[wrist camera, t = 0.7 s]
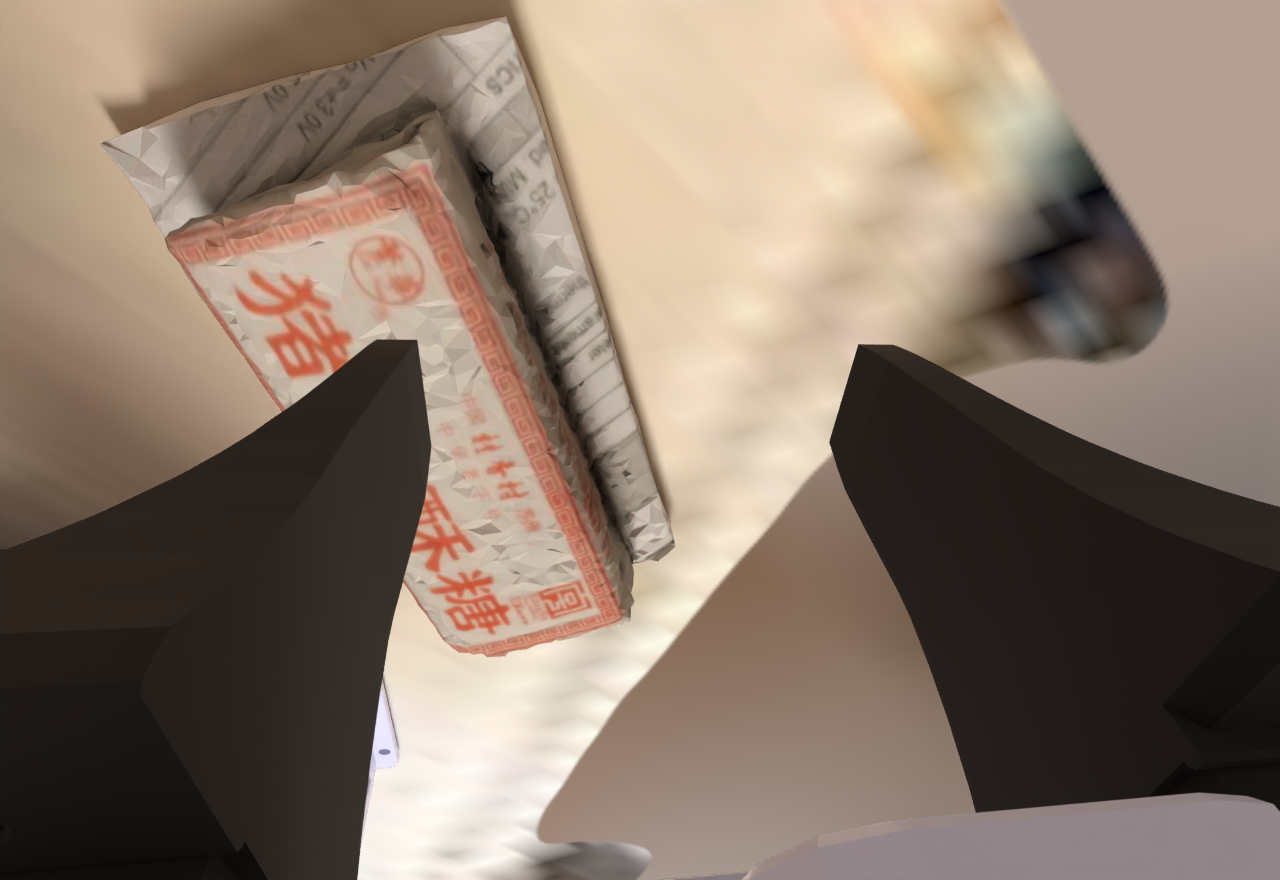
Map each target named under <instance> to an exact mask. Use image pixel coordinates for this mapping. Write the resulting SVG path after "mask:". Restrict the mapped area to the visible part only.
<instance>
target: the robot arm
mask: <svg viewBox="0 0 1280 880" xmlns="http://www.w3.org/2000/svg"><path fill="white" fill-rule="evenodd" d="M431 446H432V445H431V438H430V431H429V423H428V416H427V408H426V401H425V393H424V386H423V378H422V371H421V363H420V356H419V348H418V341H417V340H394V339H376V340H375V341H373V342H372V343H370V344H369V345H368V346H366V347H365V348H364V349H363V350H361V351H360V352H359V353H358V354H356V355H355V356H354V357H353V358H351V359H350V360H349V361H348V362H346V363H345V364H344V365H343V366H342V367H340V368H339V369H338V370H337V371H335V372H334V373H333V374H332V375H330V376H329V377H328V378H327V379H325V380H324V381H323V382H322V383H320V384H319V385H318V386H316V387H315V388H314V389H313V390H311V391H310V392H309V393H308V394H306V395H305V396H304V397H302V398H301V399H300V400H298V401H297V402H295V403H294V404H293V405H291V406H290V407H288V408H287V409H285V410H284V411H283V412H281V413H280V414H278V415H277V416H275V417H274V418H273V419H271V420H270V421H268V422H267V423H265V424H264V425H263V426H261V427H260V428H258V429H257V430H256V431H254V432H253V433H251V434H250V435H248V436H246V437H245V438H243V439H242V440H240V441H239V442H237V443H235V444H234V445H232V446H230V447H229V448H227V449H225V450H224V451H222V452H220V453H219V454H217V455H215V456H213V457H211V458H210V459H208V460H206V461H204V462H203V463H201V464H199V465H197V466H195V467H194V468H192V469H190V470H188V471H186V472H184V473H183V474H181V475H179V476H177V477H175V478H173V479H171V480H169V481H167V482H164V483H162V484H160V485H158V486H156V487H154V488H152V489H150V490H148V491H145V492H143V493H141V494H139V495H137V496H135V497H133V498H131V499H128V500H126V501H124V502H122V503H120V504H118V505H116V506H114V507H112V508H109V509H107V510H105V511H103V512H101V513H98V514H96V515H94V516H91V517H89V518H86V519H84V520H82V521H79V522H77V523H74V524H72V525H69V526H67V527H64V528H62V529H59V530H57V531H55V532H52V533H49V534H47V535H44V536H41V537H39V538H36V539H33V540H31V541H28V542H26V543H23V544H20V545H18V546H15V547H12V548H10V549H7V550H4V551H1V552H0V880H357V876H358V866H359V856H360V847H361V842H362V837H363V832H364V827H365V822H366V817H367V812H368V806H369V801H370V796H371V791H372V786H373V781H374V776H375V771H376V769H382V768H392V767H394V766H396V765H397V764H398V760H399V752H398V747H397V743H396V738H395V734H394V729H393V725H392V720H391V716H390V711H389V707H388V702H387V698H386V693H385V689H384V684H383V680H382V678H383V672H384V665H385V659H386V652H387V645H388V640H389V635H390V630H391V626H392V621H393V617H394V613H395V609H396V605H397V602H398V598H399V594H400V590H401V587H402V583H403V579H404V576H405V572H406V568H407V565H408V561H409V557H410V554H411V550H412V546H413V543H414V539H415V535H416V532H417V528H418V524H419V520H420V516H421V513H422V509H423V505H424V501H425V496H426V489H427V481H428V473H429V464H430V455H431ZM830 446H831V449H832V452H833V455H834V458H835V461H836V465H837V468H838V471H839V474H840V476H841V479H842V482H843V485H844V488H845V490H846V492H847V494H848V496H849V498H850V500H851V502H852V504H853V506H854V508H855V510H856V512H857V514H858V516H859V518H860V520H861V522H862V524H863V526H864V527H865V530H866V531H867V533H868V535H869V537H870V539H871V541H872V543H873V544H874V547H875V548H876V550H877V552H878V554H879V556H880V558H881V560H882V562H883V564H884V565H885V567H886V569H887V571H888V573H889V575H890V577H891V579H892V580H893V582H894V584H895V586H896V588H897V590H898V592H899V594H900V596H901V598H902V600H903V602H904V605H905V607H906V609H907V611H908V613H909V615H910V618H911V620H912V623H913V625H914V628H915V631H916V633H917V636H918V638H919V640H920V643H921V646H922V649H923V651H924V654H925V656H926V659H927V662H928V664H929V667H930V670H931V672H932V674H933V678H934V681H935V684H936V687H937V690H938V692H939V695H940V698H941V701H942V704H943V707H944V710H945V712H946V715H947V718H948V721H949V724H950V727H951V730H952V734H953V737H954V740H955V743H956V747H957V750H958V753H959V756H960V759H961V762H962V766H963V769H964V772H965V776H966V779H967V782H968V785H969V789H970V792H971V796H972V800H973V804H974V807H975V811H976V813H970V814H959V815H948V816H937V817H926V818H915V819H904V820H893V821H887V822H882V823H877V824H873V825H868V826H863V827H858V828H853V829H849V830H843V831H839V832H834V833H829V834H824V835H820V836H816V837H814V838H812V839H810V840H807V841H805V842H803V843H801V844H799V845H797V846H795V847H793V848H790V849H788V850H786V851H784V852H782V853H779V854H778V855H775V856H773V857H771V858H769V859H766V860H764V861H762V862H760V863H758V864H757V865H755V867H754V868H753V869H752V870H751V871H741V872H731V873H720V874H711V875H700V876H691V877H680V878H670V879H660V880H1280V507H1278V506H1274V505H1270V504H1267V503H1263V502H1259V501H1256V500H1253V499H1249V498H1246V497H1242V496H1239V495H1236V494H1232V493H1228V492H1225V491H1222V490H1219V489H1216V488H1213V487H1210V486H1207V485H1203V484H1201V483H1198V482H1195V481H1192V480H1189V479H1185V478H1183V477H1179V476H1177V475H1174V474H1171V473H1168V472H1165V471H1162V470H1159V469H1156V468H1154V467H1151V466H1148V465H1145V464H1143V463H1140V462H1137V461H1134V460H1132V459H1130V458H1127V457H1125V456H1122V455H1119V454H1117V453H1115V452H1112V451H1110V450H1107V449H1105V448H1102V447H1100V446H1097V445H1095V444H1093V443H1090V442H1088V441H1086V440H1083V439H1081V438H1079V437H1077V436H1074V435H1072V434H1070V433H1068V432H1066V431H1063V430H1062V429H1059V428H1057V427H1055V426H1053V425H1051V424H1049V423H1047V422H1045V421H1043V420H1041V419H1039V418H1037V417H1035V416H1032V415H1030V414H1028V413H1026V412H1024V411H1023V410H1021V409H1018V408H1017V407H1015V406H1013V405H1011V404H1009V403H1007V402H1005V401H1003V400H1001V399H999V398H997V397H995V396H994V395H992V394H990V393H988V392H986V391H984V390H982V389H981V388H979V387H977V386H975V385H973V384H971V383H970V382H968V381H966V380H964V379H962V378H960V377H958V376H957V375H955V374H953V373H951V372H949V371H947V370H945V369H944V368H942V367H940V366H938V365H936V364H934V363H932V362H930V361H928V360H926V359H924V358H922V357H920V356H918V355H916V354H914V353H912V352H910V351H907V350H905V349H903V348H900V347H897V346H895V345H864V344H858V348H857V351H856V354H855V358H854V361H853V364H852V368H851V371H850V374H849V378H848V381H847V384H846V388H845V391H844V395H843V398H842V401H841V405H840V408H839V411H838V415H837V418H836V421H835V425H834V428H833V431H832V435H831V438H830Z"/></svg>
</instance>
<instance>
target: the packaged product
mask: <svg viewBox="0 0 1280 880" xmlns="http://www.w3.org/2000/svg"><path fill="white" fill-rule="evenodd" d="M100 144H101V146H102V147H103V148H104V149H105V150H106V152H107V153H108V154H109V155H110V156H111V158H112V159H113V160H114V161H115V162H116V164H117V165H118V166H119V167H120V168H121V170H122V171H123V173H124V174H125V175H126V177H127V178H128V180H129V181H130V182H131V184H132V185H133V187H134V188H135V189H136V191H137V192H138V194H139V195H140V196H141V198H142V199H143V201H144V202H145V203H146V205H147V206H148V208H149V210H150V212H151V215H152V217H153V219H154V222H155V224H156V225H157V226H158V228H159V229H160V230H161V232H162V233H163V234H164V236H165V237H166V238H165V241H166V244H167V248H168V250H169V251H170V252H171V254H172V255H173V256H174V257H175V258H176V259H177V261H178V262H179V263H180V264H181V266H182V268H183V269H184V271H185V273H186V275H187V276H188V278H189V280H190V282H191V283H192V285H193V286H194V288H195V289H196V291H197V293H198V294H199V296H200V297H201V299H202V300H203V301H204V302H205V303H206V304H207V305H208V307H209V308H210V310H211V312H212V313H213V314H214V316H215V317H216V319H217V320H218V322H219V323H220V324H221V326H222V327H223V329H224V330H225V331H226V333H227V334H228V336H229V337H230V338H231V340H232V341H233V343H234V344H235V345H236V347H237V348H238V350H239V351H240V352H241V353H242V355H243V356H244V357H245V359H246V360H247V362H248V363H249V365H250V366H251V368H252V369H253V371H254V372H255V374H256V375H257V377H258V378H259V380H260V381H261V383H262V384H263V386H264V387H265V389H266V390H267V391H268V393H269V394H270V395H271V397H272V398H273V400H274V401H275V402H276V404H277V405H278V406H279V408H280V409H281V410H282V412H283V411H284V410H285V409H287V408H288V407H290V406H291V405H293V404H294V403H295V402H297V401H298V400H300V399H301V398H302V397H304V396H305V395H306V394H308V393H309V392H310V391H311V390H313V389H314V388H315V387H316V386H318V385H319V384H320V383H322V382H323V381H324V380H325V379H327V378H328V377H329V376H330V375H332V374H333V373H334V372H335V371H337V370H338V369H339V368H340V367H342V366H343V365H344V364H345V363H346V362H348V361H349V360H350V359H351V358H353V357H354V356H355V355H356V354H358V353H359V352H360V351H361V350H363V349H364V348H365V347H366V346H368V345H369V344H370V343H372V342H373V341H375V340H376V339H394V340H417V341H418V348H419V356H420V363H421V371H422V378H423V386H424V393H425V401H426V408H427V416H428V423H429V431H430V438H431V445H432V446H431V455H430V464H429V473H428V481H427V489H426V496H425V501H424V505H423V509H422V513H421V516H420V520H419V524H418V528H417V532H416V535H415V539H414V543H413V546H412V550H411V554H410V557H409V561H408V565H407V568H406V572H405V576H404V579H403V583H404V584H405V585H406V586H407V588H408V589H409V591H410V592H411V593H412V595H413V596H414V598H415V600H416V602H417V603H418V605H419V606H420V607H421V609H422V610H423V611H424V612H425V613H426V615H427V616H428V618H429V619H430V621H431V622H432V623H433V625H434V626H435V627H436V629H437V631H438V633H439V634H440V636H441V637H442V639H443V640H444V641H445V642H446V643H448V644H449V645H450V646H451V647H452V648H453V649H455V650H456V651H458V652H461V653H471V654H484V655H485V656H487V657H500V656H505V655H506V654H507V653H508V652H510V651H515V650H524V649H528V648H531V647H533V646H535V645H538V644H542V643H549V642H553V641H556V640H560V641H562V640H565V639H570V638H575V637H579V636H581V635H584V634H587V633H590V632H593V631H597V630H601V629H605V628H609V627H613V626H617V625H621V624H623V623H624V622H626V621H630V617H631V606H632V605H633V603H634V600H633V597H632V594H631V591H632V587H633V576H634V571H633V566H632V564H634V563H639V562H643V561H648V560H654V561H659V560H660V559H661V558H662V557H664V556H665V555H666V554H667V553H669V552H670V551H671V550H672V549H673V548H674V547H675V543H674V538H673V534H672V529H671V524H670V521H669V518H668V516H667V513H666V511H665V508H664V506H663V503H662V501H661V498H660V496H659V493H658V491H657V487H656V484H655V480H654V477H653V473H652V469H651V466H650V462H649V458H648V455H647V451H646V448H645V444H644V440H643V437H642V433H641V429H640V426H639V422H638V418H637V415H636V413H635V411H634V408H633V406H632V403H631V401H630V397H629V394H628V390H627V387H626V383H625V380H624V376H623V373H622V369H621V366H620V362H619V359H618V356H617V352H616V349H615V345H614V341H613V338H612V334H611V330H610V326H609V323H608V319H607V316H606V313H605V309H604V306H603V303H602V300H601V296H600V293H599V290H598V287H597V283H596V280H595V277H594V274H593V270H592V267H591V264H590V262H589V258H588V255H587V252H586V248H585V245H584V241H583V238H582V235H581V231H580V228H579V225H578V222H577V219H576V215H575V212H574V209H573V206H572V202H571V199H570V196H569V193H568V189H567V186H566V183H565V180H564V177H563V173H562V170H561V167H560V164H559V160H558V157H557V154H556V151H555V147H554V144H553V141H552V138H551V135H550V131H549V128H548V125H547V122H546V118H545V115H544V112H543V109H542V105H541V102H540V99H539V96H538V94H537V91H536V89H535V86H534V84H533V81H532V79H531V76H530V74H529V72H528V69H527V67H526V64H525V62H524V59H523V57H522V54H521V52H520V49H519V47H518V45H517V42H516V40H515V37H514V35H513V32H512V30H511V27H510V25H509V23H508V20H507V18H506V16H505V17H500V18H495V19H489V20H484V21H479V22H473V23H468V24H463V25H457V26H452V27H447V28H442V29H440V30H437V31H434V32H432V33H429V34H427V35H424V36H421V37H419V38H416V39H414V40H411V41H408V42H406V43H403V44H401V45H398V46H395V47H393V48H390V49H388V50H385V51H382V52H380V53H377V54H375V55H372V56H369V57H367V58H364V59H362V60H359V61H356V62H352V63H347V64H342V65H338V66H333V67H328V68H324V69H319V70H314V71H310V72H305V73H300V74H296V75H291V76H288V77H285V78H281V79H278V80H274V81H271V82H267V83H264V84H261V85H257V86H254V87H250V88H247V89H244V90H240V91H237V92H233V93H230V94H226V95H223V96H220V97H216V98H213V99H209V100H206V101H202V102H199V103H197V104H194V105H192V106H190V107H187V108H185V109H183V110H180V111H178V112H176V113H173V114H171V115H169V116H166V117H164V118H161V119H159V120H157V121H154V122H152V123H150V124H147V125H145V126H143V127H140V128H138V129H135V130H133V131H130V132H128V133H125V134H123V135H120V136H118V137H115V138H113V139H110V140H108V141H105V142H103V143H100Z"/></svg>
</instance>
